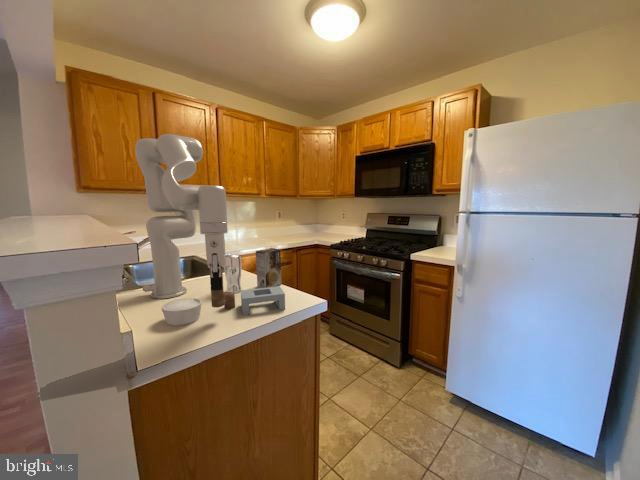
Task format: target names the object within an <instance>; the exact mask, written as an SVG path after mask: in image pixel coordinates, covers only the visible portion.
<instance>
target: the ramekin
mask: <svg viewBox="0 0 640 480" xmlns="http://www.w3.org/2000/svg"><path fill="white" fill-rule="evenodd" d="M202 305H203V302H202V300H201V299H199V298H195V297H186V298H184V297H183V298H178V299H173V300H171V301H170V300H169V301H168V302H166V303H164V304H163V305H162V306H161V311H162V313H163V317H164V320H165V323H166V324H168V325H169V326H174V327H175V326H176V327H178V326H185V325H189V324H193V323H194V322H196V321H197V320H198V319H199V318H200V315H201V309H202Z"/></svg>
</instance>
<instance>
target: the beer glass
mask: <svg viewBox="0 0 640 480" xmlns="http://www.w3.org/2000/svg"><path fill="white" fill-rule="evenodd" d="M225 257H226V266H225V267H223V270H224V271H223V273H224V276H225V280H226V292H225V293H227V292H234V294H238V293H241V290H243V289H242V286H241V277H242V267H243V266H242V257H241V254H239V253H237V254H235V253H233V254H232V253H231V254H225Z"/></svg>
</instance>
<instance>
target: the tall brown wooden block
mask: <svg viewBox="0 0 640 480" xmlns="http://www.w3.org/2000/svg"><path fill="white" fill-rule="evenodd" d="M217 259H218V258H217ZM212 267H213V265H212ZM217 267H219V265H217ZM210 268H211V267H210ZM210 268H209V278H210V277H211V269H210ZM218 270H219V269H218ZM223 270H224V269H223V266H221V276H222V290H215V291H212V290H211V289H210V299H211V308H221V307H224V274H223V273H224V271H223ZM209 284H210V285H211V281H210V283H209Z"/></svg>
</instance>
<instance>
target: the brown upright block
mask: <svg viewBox="0 0 640 480" xmlns="http://www.w3.org/2000/svg"><path fill="white" fill-rule="evenodd" d="M235 294H236V293H234V292H225V293H224V305H223V307H224V310H233V309H235V308H236V297H235V296H236V295H235Z"/></svg>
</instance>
